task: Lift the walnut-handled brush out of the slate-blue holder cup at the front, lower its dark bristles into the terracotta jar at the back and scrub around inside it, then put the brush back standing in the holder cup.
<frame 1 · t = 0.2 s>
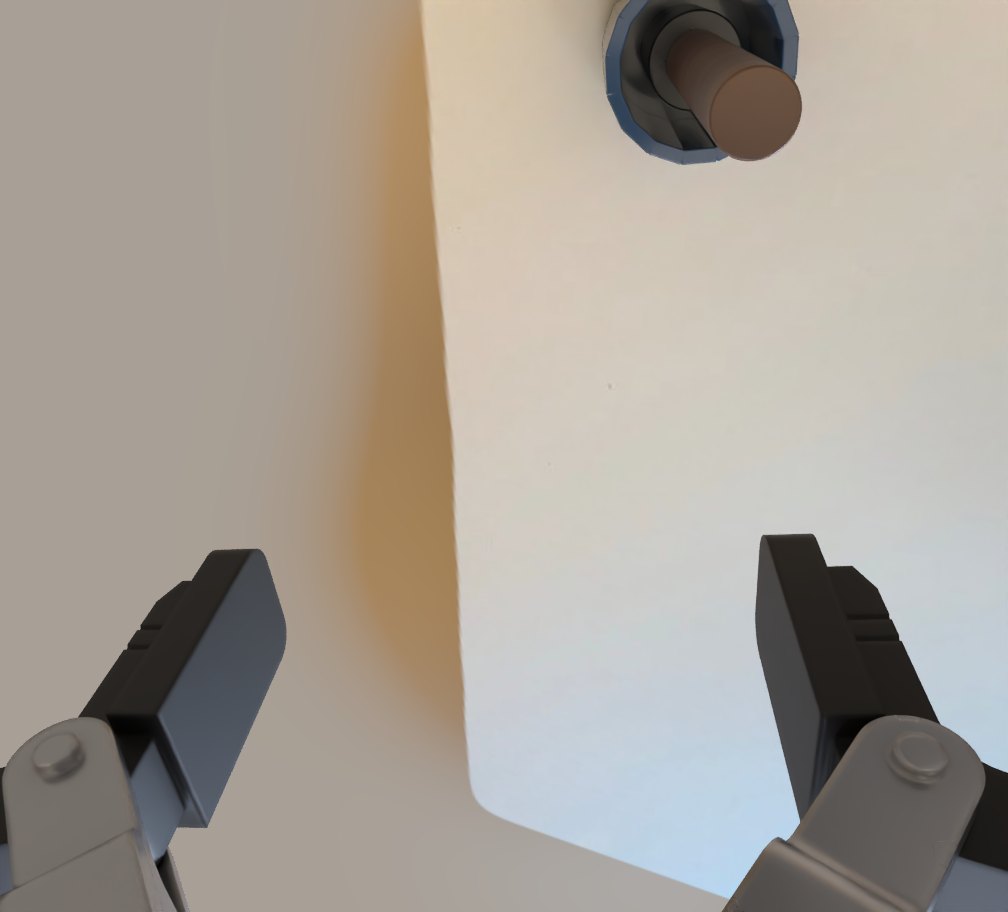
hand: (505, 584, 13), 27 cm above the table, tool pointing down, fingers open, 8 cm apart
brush: (681, 49, 33), resting on brush cup
brush cup: (680, 48, 33), on the table
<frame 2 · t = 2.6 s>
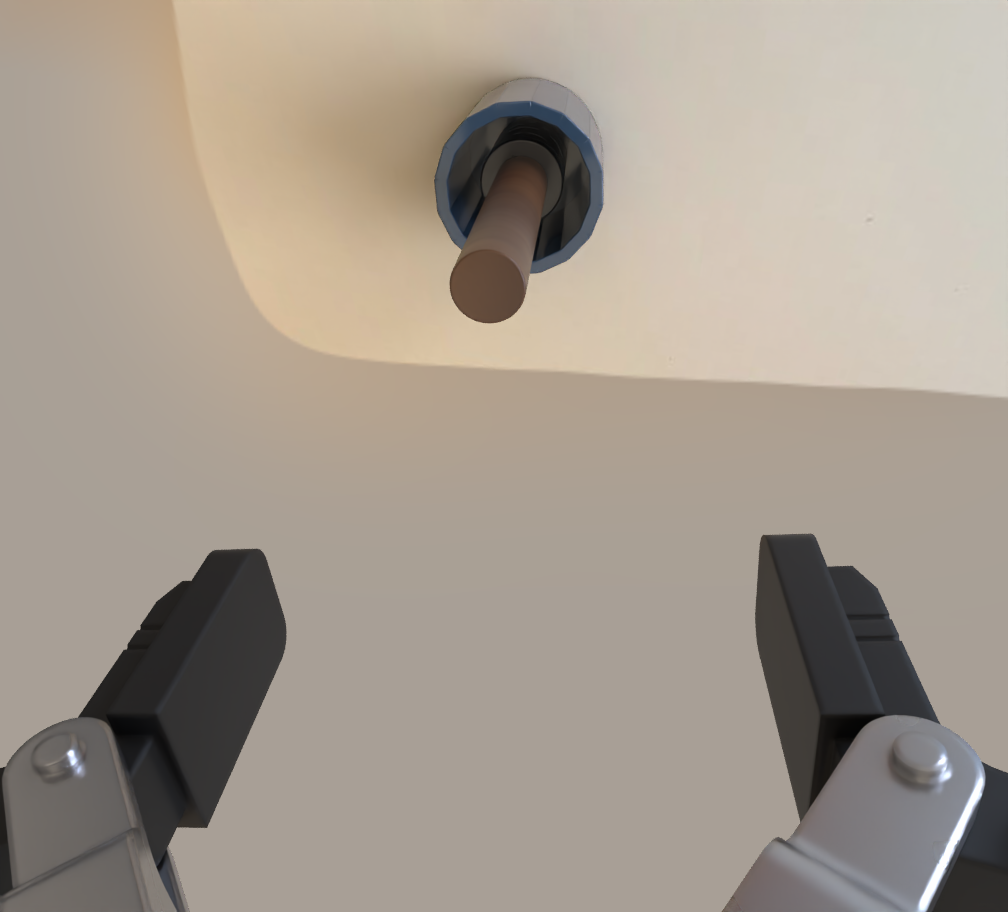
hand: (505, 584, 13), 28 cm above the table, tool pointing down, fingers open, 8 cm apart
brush: (529, 157, 36), resting on brush cup
brush cup: (530, 154, 36), on the table
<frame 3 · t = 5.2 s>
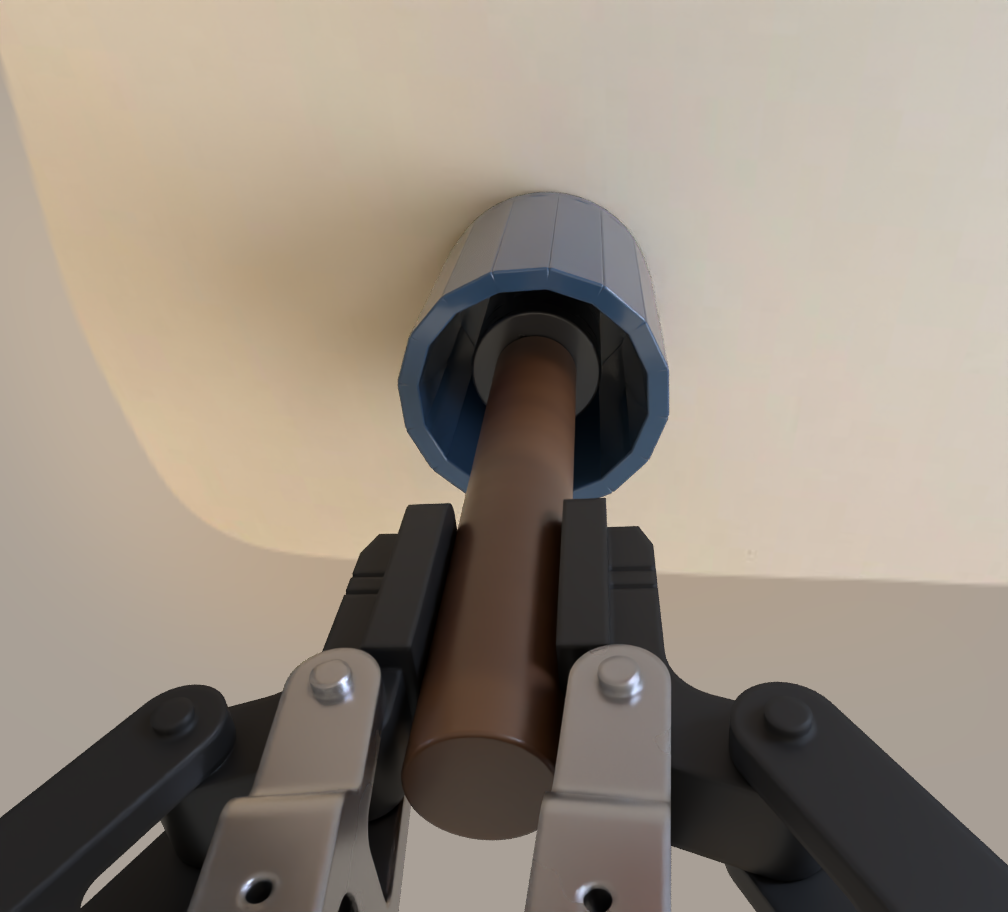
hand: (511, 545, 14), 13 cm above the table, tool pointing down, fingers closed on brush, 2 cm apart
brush: (545, 302, 25), point 1 cm above the table, touching brush cup, gripper
brush cup: (546, 296, 25), on the table
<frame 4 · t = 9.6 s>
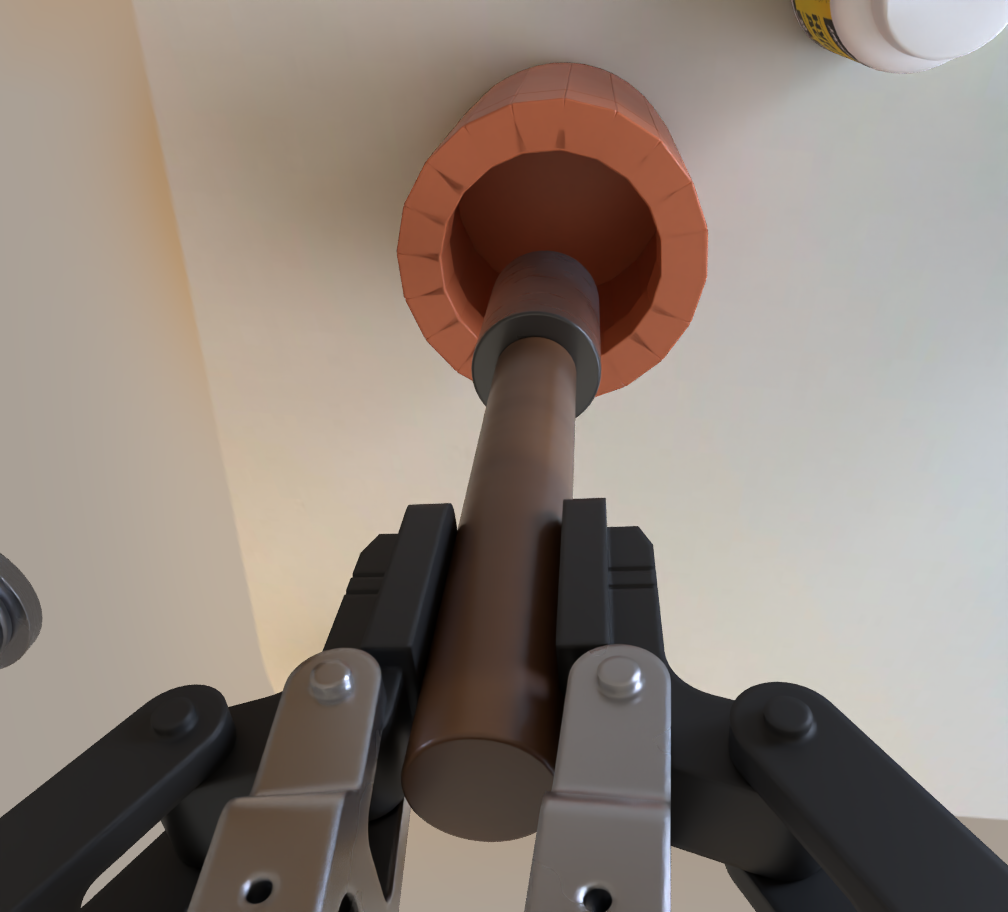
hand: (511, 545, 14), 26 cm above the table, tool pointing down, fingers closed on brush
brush: (544, 302, 25), point 14 cm above the table, touching gripper
jar: (560, 188, 37), on the table
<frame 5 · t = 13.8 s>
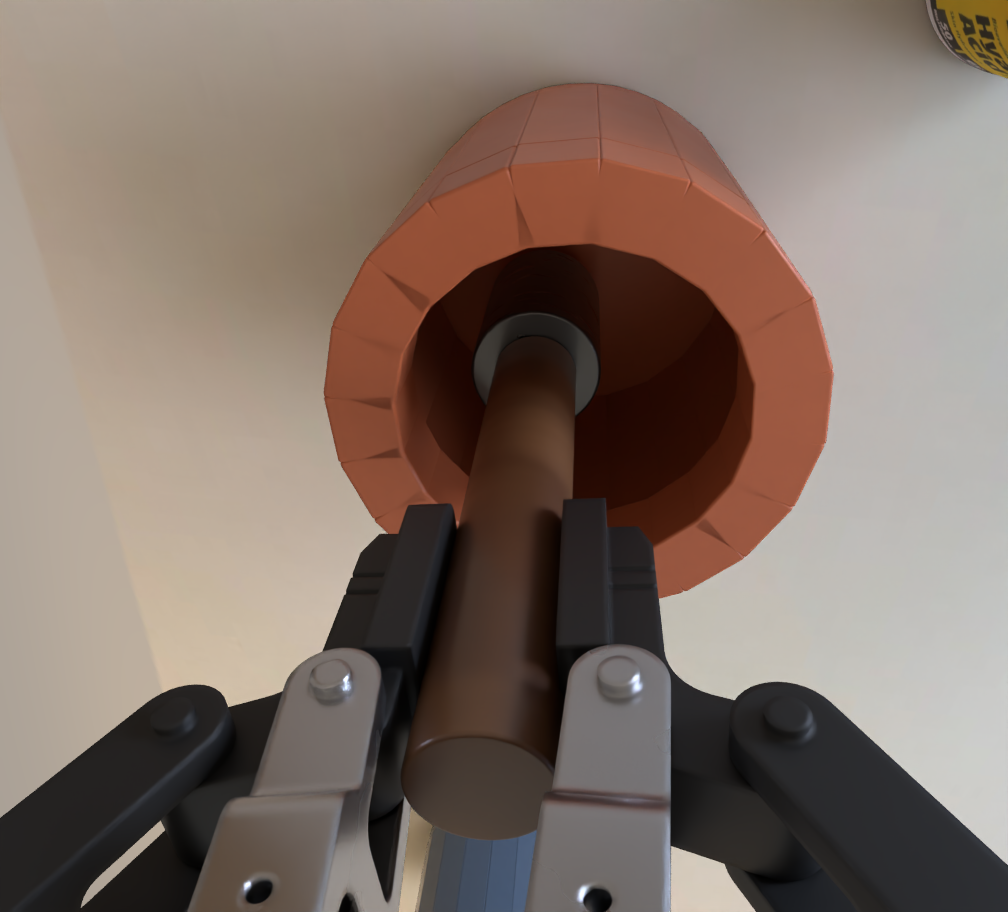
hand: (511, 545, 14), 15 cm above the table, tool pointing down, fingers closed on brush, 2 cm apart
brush: (544, 302, 25), point 2 cm above the table, touching gripper
jar: (577, 257, 26), on the table
brush cup: (490, 843, 42), on the table
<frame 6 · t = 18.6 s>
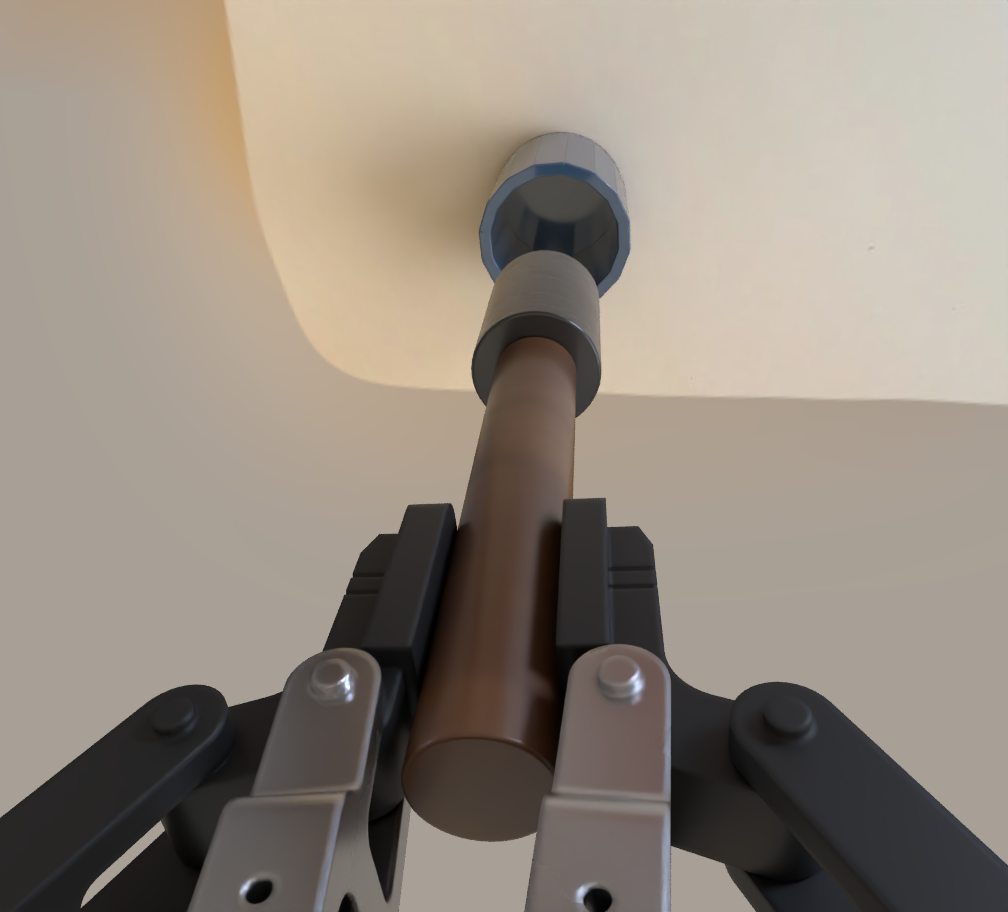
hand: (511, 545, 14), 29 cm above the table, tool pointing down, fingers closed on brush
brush: (545, 302, 25), point 17 cm above the table, touching gripper
brush cup: (559, 199, 40), on the table
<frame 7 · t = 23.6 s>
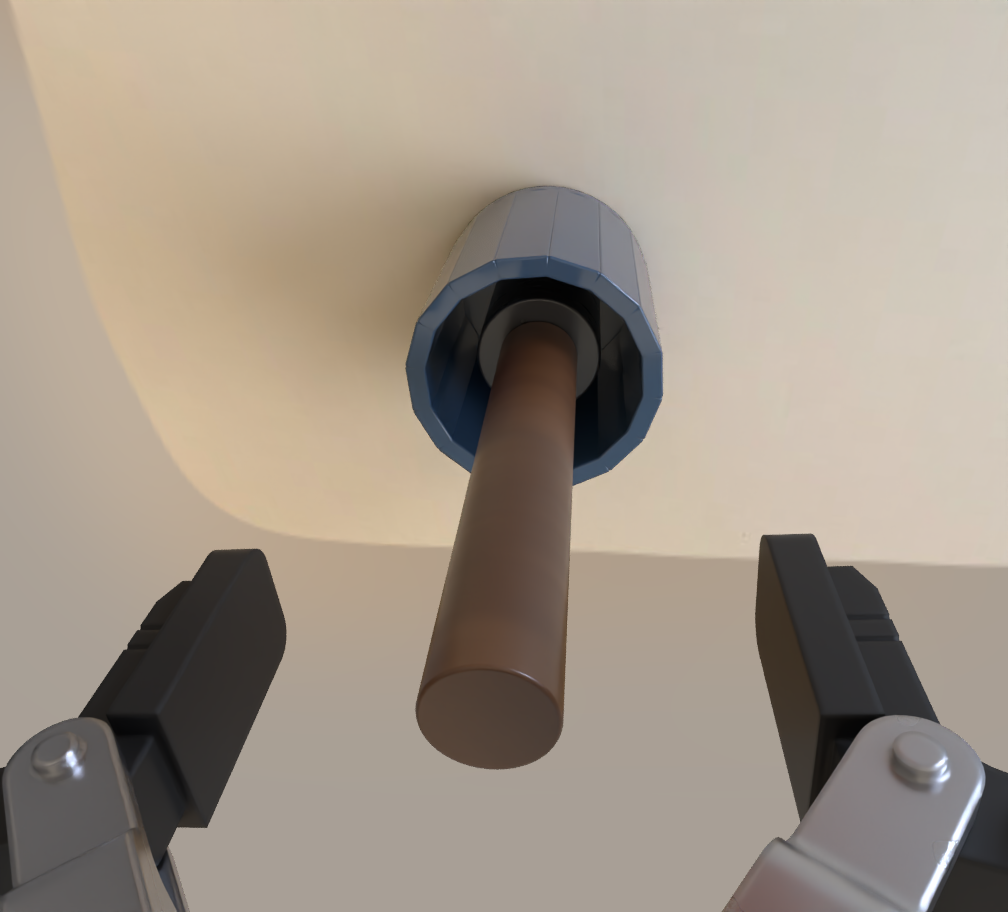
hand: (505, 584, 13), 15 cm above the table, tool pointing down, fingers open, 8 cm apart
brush: (547, 291, 26), resting on brush cup
brush cup: (546, 286, 26), on the table
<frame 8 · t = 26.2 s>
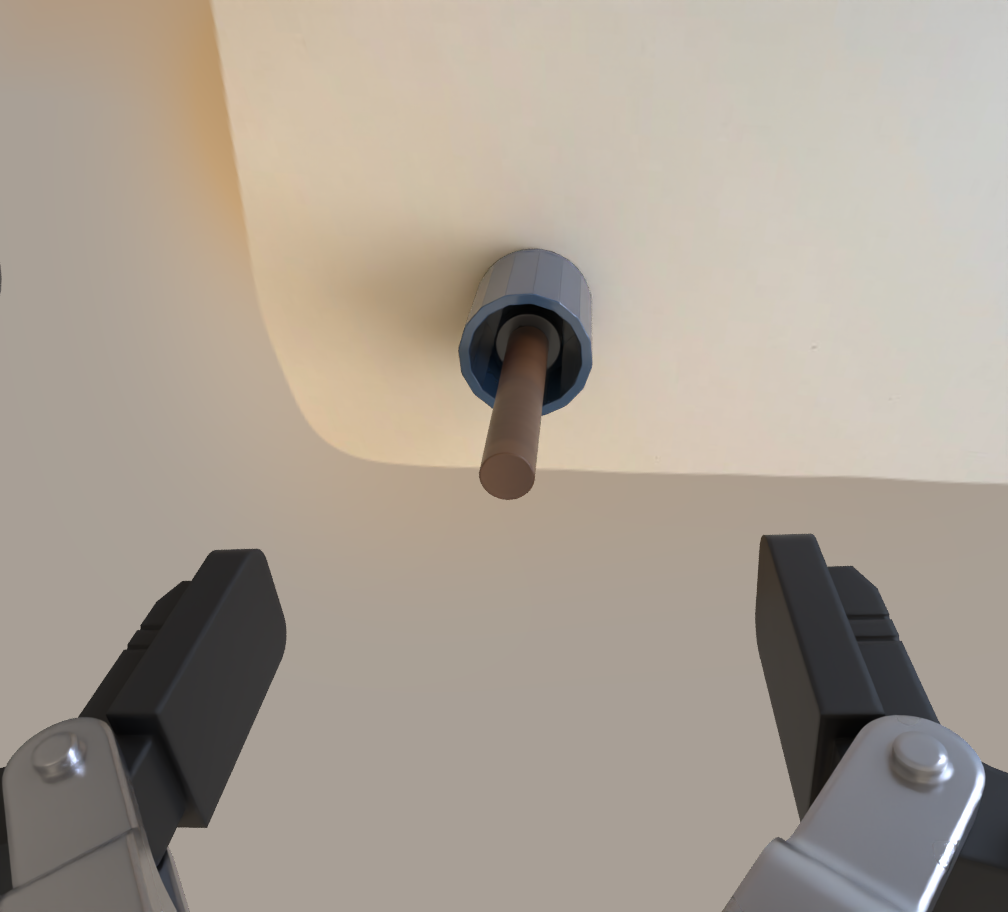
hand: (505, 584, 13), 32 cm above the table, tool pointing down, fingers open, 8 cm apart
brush: (534, 308, 44), resting on brush cup
brush cup: (533, 305, 45), on the table
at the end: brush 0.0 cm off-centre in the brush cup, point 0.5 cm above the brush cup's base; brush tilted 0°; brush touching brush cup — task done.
